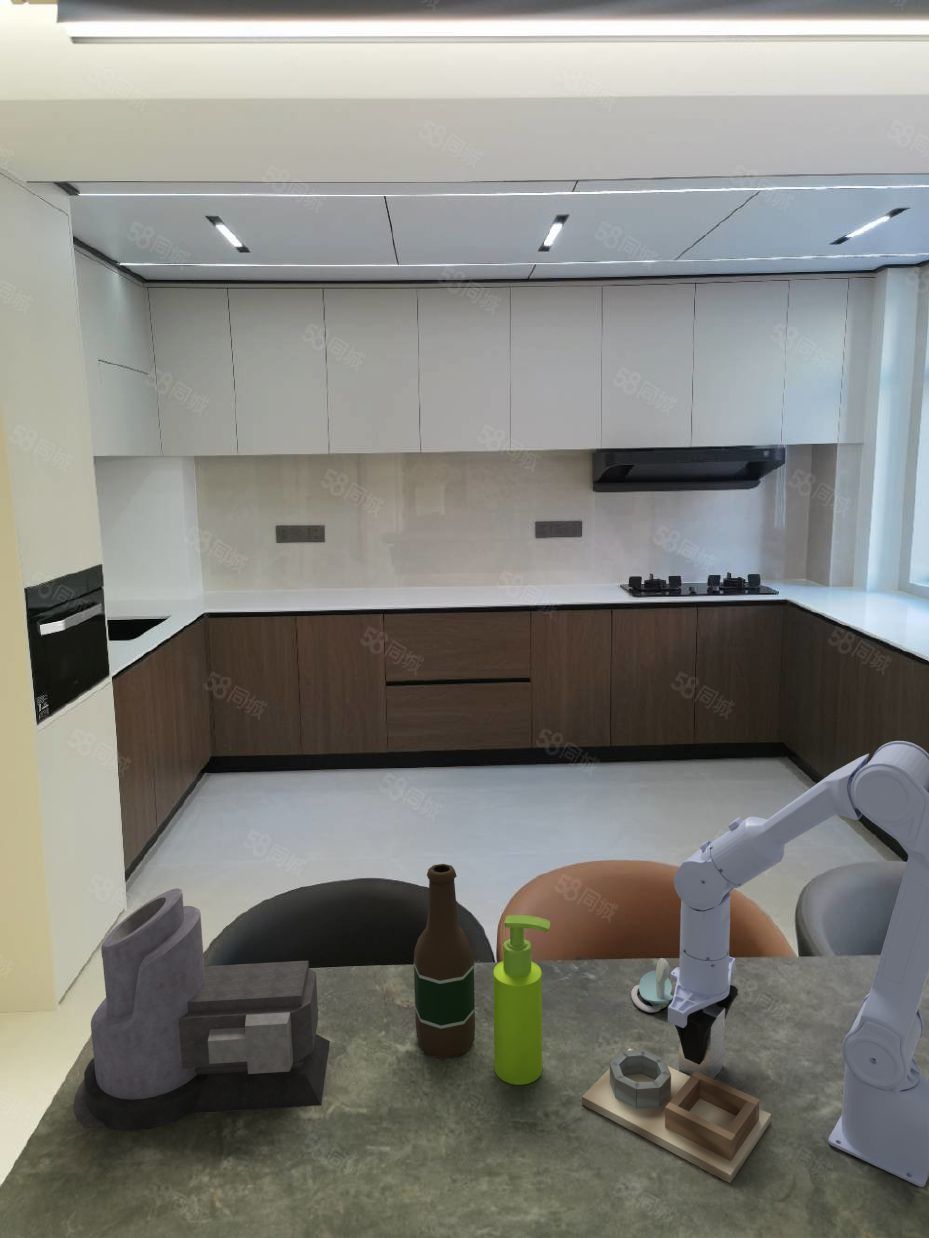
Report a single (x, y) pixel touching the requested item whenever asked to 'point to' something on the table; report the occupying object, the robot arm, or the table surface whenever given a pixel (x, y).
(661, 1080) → the socket board
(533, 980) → the soap dispenser
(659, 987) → the pacifier
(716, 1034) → the square peg
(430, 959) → the beer bottle
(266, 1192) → the table surface
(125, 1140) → the table surface
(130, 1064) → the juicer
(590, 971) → the table surface
